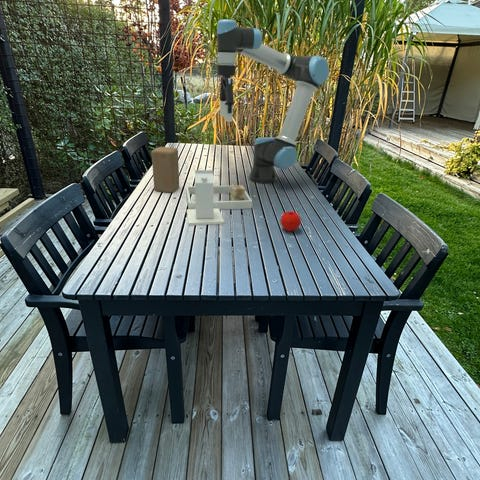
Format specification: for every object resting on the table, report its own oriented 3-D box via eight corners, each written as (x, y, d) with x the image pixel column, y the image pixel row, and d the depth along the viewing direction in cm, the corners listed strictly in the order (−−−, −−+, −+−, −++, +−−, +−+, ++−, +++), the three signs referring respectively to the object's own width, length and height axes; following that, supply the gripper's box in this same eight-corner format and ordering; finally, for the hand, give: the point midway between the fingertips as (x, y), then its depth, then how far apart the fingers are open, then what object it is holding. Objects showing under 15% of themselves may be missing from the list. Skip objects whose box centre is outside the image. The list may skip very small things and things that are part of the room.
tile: (218, 210, 147) (218, 208, 147) (223, 223, 135) (223, 221, 135) (186, 211, 145) (186, 209, 144) (188, 225, 132) (188, 223, 132)
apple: (278, 224, 137) (280, 207, 133) (298, 225, 137) (300, 208, 133) (280, 233, 130) (282, 215, 126) (300, 234, 129) (303, 216, 126)
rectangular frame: (241, 192, 170) (242, 185, 168) (251, 208, 151) (252, 201, 149) (186, 193, 165) (185, 186, 163) (188, 210, 146) (188, 203, 144)
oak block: (240, 201, 158) (241, 185, 154) (244, 205, 154) (245, 188, 150) (230, 202, 156) (230, 186, 153) (234, 206, 152) (234, 189, 149)
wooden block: (172, 193, 164) (170, 152, 155) (153, 191, 165) (150, 150, 156) (180, 187, 173) (178, 147, 163) (161, 185, 174) (159, 146, 165)
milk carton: (195, 211, 142) (195, 167, 133) (212, 211, 143) (213, 167, 134) (195, 218, 136) (194, 172, 127) (213, 218, 137) (213, 172, 128)
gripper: (212, 64, 148) (213, 114, 158) (222, 64, 127) (222, 123, 137) (229, 64, 150) (229, 114, 160) (242, 65, 128) (240, 123, 138)
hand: (226, 119), depth 148 cm, fingers open, 13 cm apart
